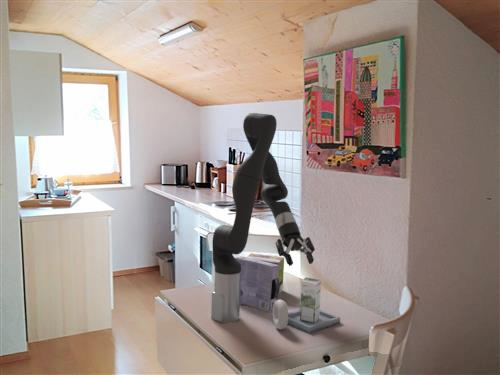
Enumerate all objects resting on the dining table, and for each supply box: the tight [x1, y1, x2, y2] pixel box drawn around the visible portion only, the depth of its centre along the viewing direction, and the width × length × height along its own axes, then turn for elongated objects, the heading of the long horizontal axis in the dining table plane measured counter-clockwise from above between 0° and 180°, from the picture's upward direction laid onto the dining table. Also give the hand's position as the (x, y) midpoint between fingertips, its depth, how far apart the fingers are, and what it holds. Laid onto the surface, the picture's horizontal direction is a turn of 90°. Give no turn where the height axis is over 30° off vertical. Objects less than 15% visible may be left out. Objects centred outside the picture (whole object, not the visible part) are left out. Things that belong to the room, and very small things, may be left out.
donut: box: [272, 299, 289, 331], centre depth 175 cm, size 10×4×10 cm, turn 13°
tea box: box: [246, 252, 285, 296], centre depth 214 cm, size 15×10×15 cm, turn 73°
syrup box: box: [299, 277, 322, 323], centre depth 181 cm, size 6×6×14 cm
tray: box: [287, 309, 341, 334], centre depth 182 cm, size 16×14×2 cm
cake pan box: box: [234, 255, 280, 313], centre depth 196 cm, size 19×5×18 cm, turn 54°
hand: (301, 263), depth 187 cm, fingers open, 8 cm apart
